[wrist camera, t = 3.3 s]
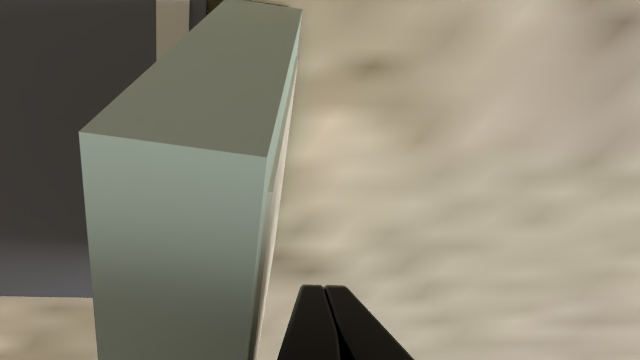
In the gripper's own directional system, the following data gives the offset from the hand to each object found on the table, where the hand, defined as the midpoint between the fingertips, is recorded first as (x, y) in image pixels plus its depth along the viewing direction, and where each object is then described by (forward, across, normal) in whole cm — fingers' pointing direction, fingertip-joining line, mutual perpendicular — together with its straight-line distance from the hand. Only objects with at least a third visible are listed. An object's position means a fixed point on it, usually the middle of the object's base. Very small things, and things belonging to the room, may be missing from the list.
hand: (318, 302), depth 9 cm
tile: (+7, +1, 0) cm, 7 cm away
